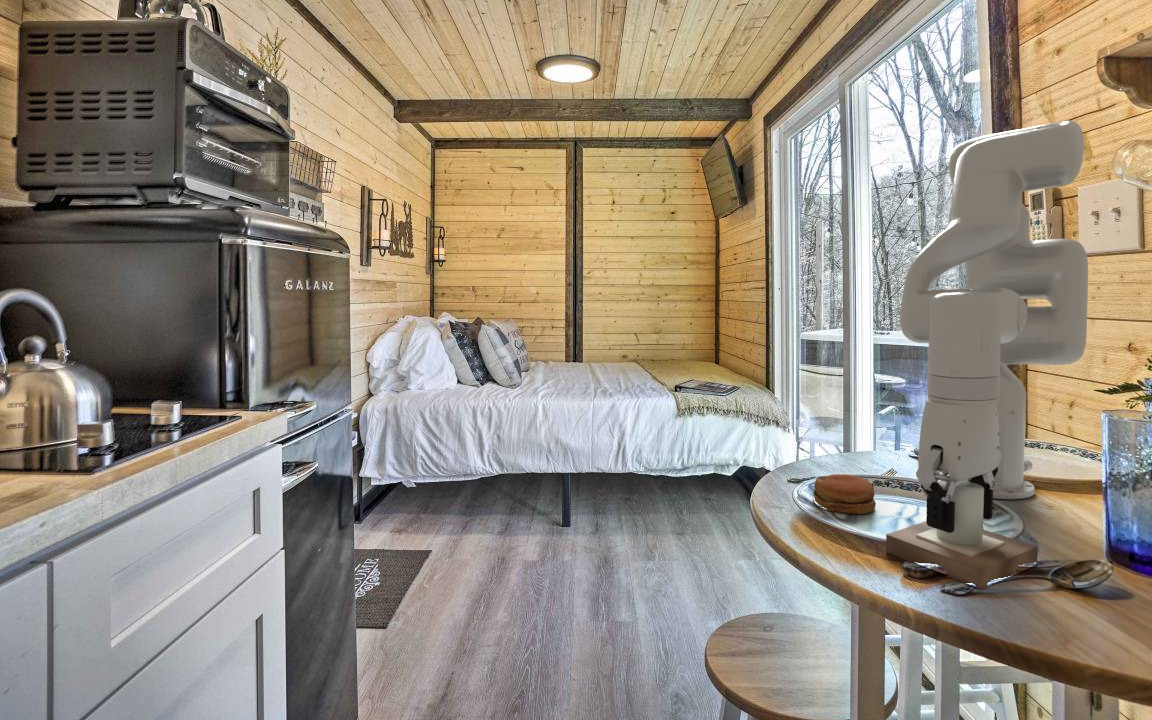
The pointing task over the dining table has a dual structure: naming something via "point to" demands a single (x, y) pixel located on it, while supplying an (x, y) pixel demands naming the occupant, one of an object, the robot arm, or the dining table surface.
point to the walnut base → (962, 554)
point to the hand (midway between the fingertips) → (959, 521)
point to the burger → (844, 494)
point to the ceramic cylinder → (966, 515)
